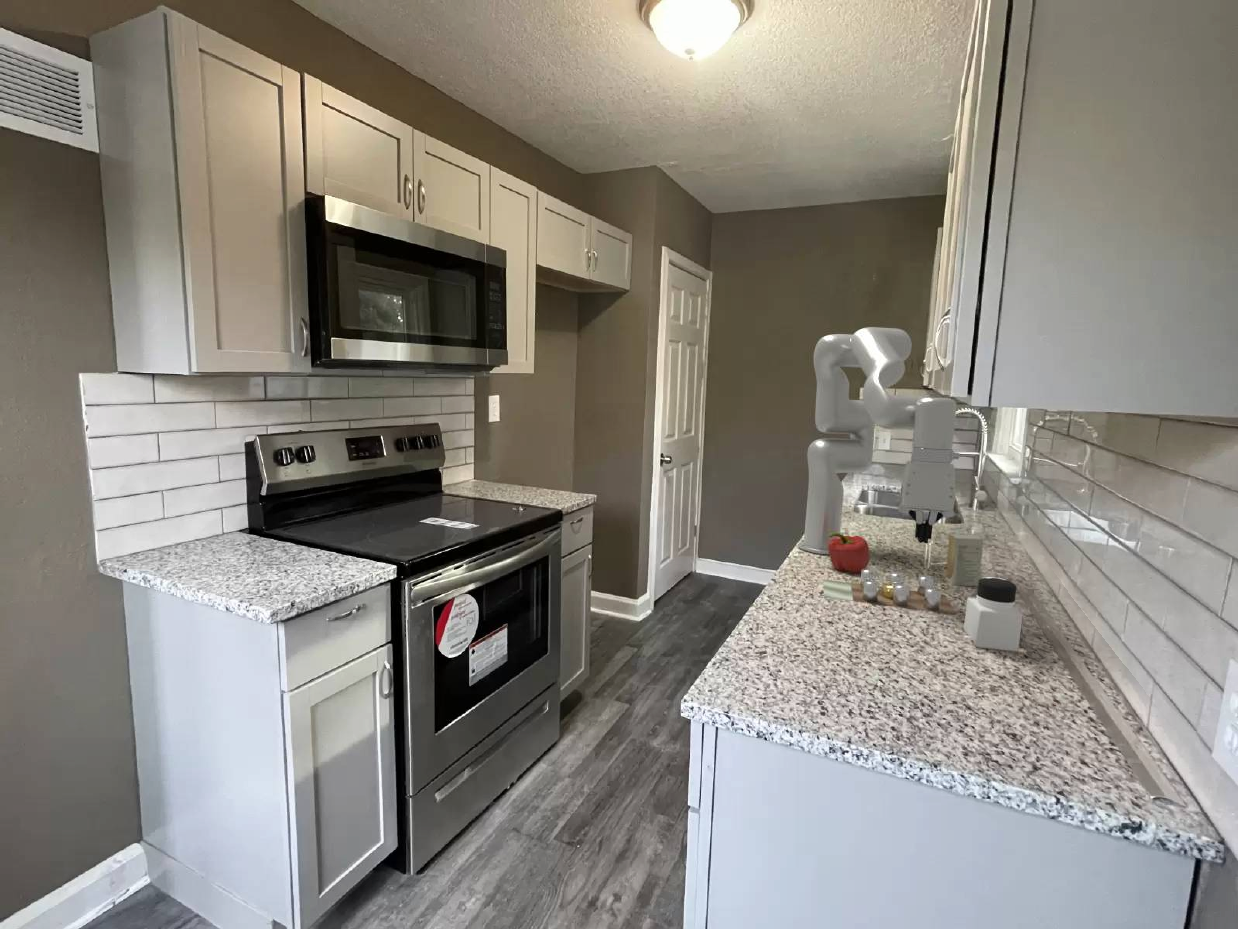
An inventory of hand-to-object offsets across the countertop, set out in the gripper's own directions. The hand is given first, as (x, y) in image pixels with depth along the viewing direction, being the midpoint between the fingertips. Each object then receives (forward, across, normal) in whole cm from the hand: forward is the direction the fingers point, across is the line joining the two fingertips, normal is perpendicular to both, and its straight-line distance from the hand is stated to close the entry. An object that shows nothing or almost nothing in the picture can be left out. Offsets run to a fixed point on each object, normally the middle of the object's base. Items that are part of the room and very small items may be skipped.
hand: (922, 541), depth 134 cm
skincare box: (+14, -12, -19) cm, 27 cm away
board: (+14, +7, 0) cm, 15 cm away
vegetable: (+14, +14, -19) cm, 27 cm away
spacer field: (+13, +4, 0) cm, 14 cm away
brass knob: (+13, +5, 0) cm, 14 cm away
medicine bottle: (+14, -10, +17) cm, 25 cm away
